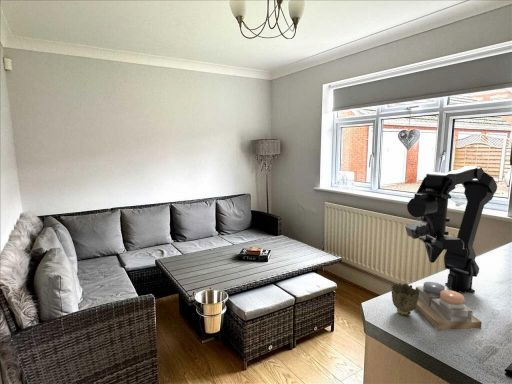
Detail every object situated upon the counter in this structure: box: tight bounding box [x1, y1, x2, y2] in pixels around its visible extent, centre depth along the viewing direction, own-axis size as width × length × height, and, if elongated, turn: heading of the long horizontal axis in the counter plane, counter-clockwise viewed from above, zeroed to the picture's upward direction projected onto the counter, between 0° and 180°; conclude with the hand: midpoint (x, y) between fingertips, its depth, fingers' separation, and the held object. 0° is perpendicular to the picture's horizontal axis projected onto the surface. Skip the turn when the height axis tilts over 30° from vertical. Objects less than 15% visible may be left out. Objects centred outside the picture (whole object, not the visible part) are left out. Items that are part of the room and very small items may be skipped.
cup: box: [391, 282, 420, 317], centre depth 90 cm, size 8×7×8 cm
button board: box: [414, 285, 483, 331], centre depth 90 cm, size 12×16×5 cm
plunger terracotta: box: [440, 289, 465, 309], centre depth 86 cm, size 6×6×4 cm
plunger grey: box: [422, 281, 446, 295], centre depth 94 cm, size 6×6×4 cm
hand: (431, 262), depth 96 cm, fingers closed
